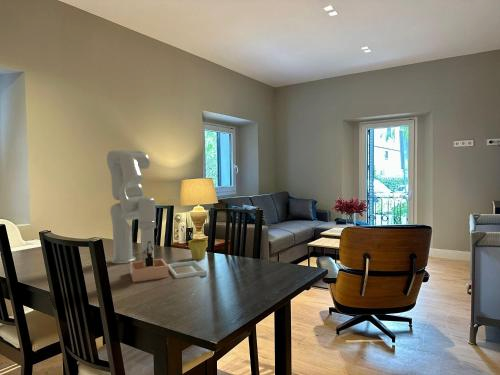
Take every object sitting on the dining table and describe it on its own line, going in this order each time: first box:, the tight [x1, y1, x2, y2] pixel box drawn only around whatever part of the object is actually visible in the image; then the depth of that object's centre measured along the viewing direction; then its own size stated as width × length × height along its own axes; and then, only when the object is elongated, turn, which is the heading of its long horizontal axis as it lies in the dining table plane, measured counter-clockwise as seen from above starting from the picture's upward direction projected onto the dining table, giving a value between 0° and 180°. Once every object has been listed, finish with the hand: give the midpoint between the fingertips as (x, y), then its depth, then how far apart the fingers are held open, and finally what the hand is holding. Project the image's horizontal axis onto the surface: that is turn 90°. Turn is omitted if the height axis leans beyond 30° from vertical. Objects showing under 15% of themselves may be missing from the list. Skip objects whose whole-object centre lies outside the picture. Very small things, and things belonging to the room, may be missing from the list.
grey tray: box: [166, 260, 208, 279], centre depth 163 cm, size 20×14×2 cm
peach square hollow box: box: [129, 258, 170, 283], centre depth 157 cm, size 15×15×6 cm
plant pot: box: [188, 238, 208, 261], centre depth 190 cm, size 10×10×10 cm
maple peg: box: [141, 249, 155, 269], centre depth 157 cm, size 5×5×12 cm
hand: (148, 264), depth 157 cm, fingers closed on maple peg, 5 cm apart
